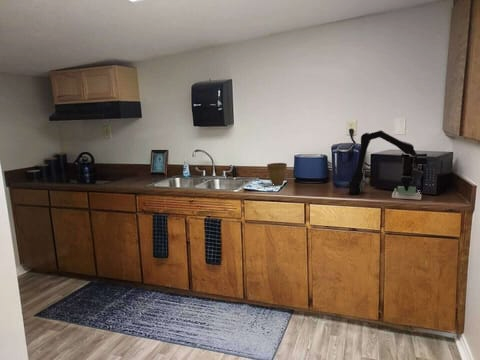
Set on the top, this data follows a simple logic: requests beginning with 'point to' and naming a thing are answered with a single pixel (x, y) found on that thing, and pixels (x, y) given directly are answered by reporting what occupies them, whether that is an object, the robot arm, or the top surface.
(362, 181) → the mechanical component
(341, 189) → the top surface
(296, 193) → the top surface
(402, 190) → the circuit board
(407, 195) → the chassis plate
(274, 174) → the plant pot
